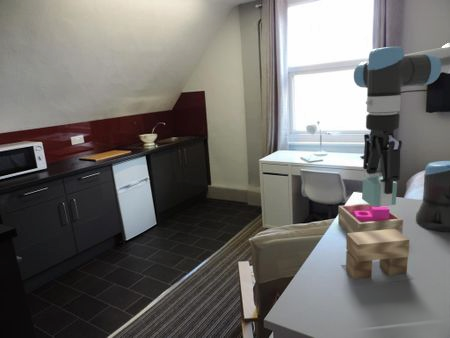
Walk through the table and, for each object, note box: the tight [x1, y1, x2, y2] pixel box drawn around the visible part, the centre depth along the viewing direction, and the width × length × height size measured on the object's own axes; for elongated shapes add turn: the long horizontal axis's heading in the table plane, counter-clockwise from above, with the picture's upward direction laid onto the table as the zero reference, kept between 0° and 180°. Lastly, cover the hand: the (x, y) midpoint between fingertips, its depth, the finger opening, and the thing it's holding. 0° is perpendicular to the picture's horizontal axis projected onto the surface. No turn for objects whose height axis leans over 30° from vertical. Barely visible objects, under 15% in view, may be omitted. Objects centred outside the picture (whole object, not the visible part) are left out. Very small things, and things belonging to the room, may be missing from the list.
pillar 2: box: [379, 256, 409, 276], centre depth 91 cm, size 5×5×6 cm
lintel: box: [345, 229, 410, 262], centre depth 89 cm, size 14×7×5 cm, turn 93°
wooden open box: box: [337, 202, 404, 235], centre depth 116 cm, size 15×17×7 cm
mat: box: [340, 260, 415, 286], centre depth 91 cm, size 16×10×1 cm, turn 93°
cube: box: [361, 175, 398, 207], centre depth 85 cm, size 6×6×6 cm
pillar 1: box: [345, 250, 373, 279], centre depth 90 cm, size 5×5×6 cm
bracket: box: [353, 206, 390, 222], centre depth 116 cm, size 12×10×10 cm
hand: (378, 200), depth 86 cm, fingers closed on cube, 6 cm apart
